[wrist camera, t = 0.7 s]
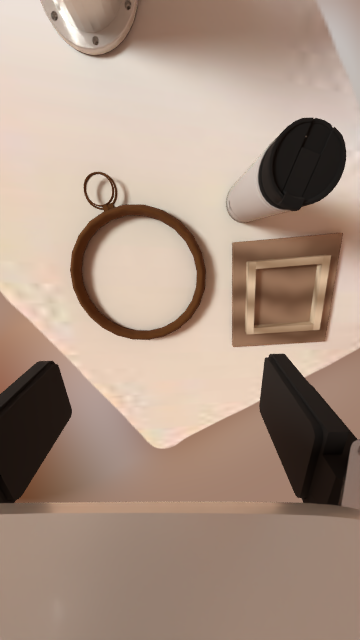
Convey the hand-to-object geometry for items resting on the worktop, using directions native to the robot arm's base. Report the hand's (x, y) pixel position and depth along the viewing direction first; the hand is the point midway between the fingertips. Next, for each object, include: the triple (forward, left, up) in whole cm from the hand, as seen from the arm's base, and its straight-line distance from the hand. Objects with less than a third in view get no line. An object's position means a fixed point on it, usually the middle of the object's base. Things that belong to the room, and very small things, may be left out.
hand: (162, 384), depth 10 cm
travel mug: (-11, +12, -32) cm, 36 cm away
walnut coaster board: (+5, +19, -32) cm, 37 cm away
